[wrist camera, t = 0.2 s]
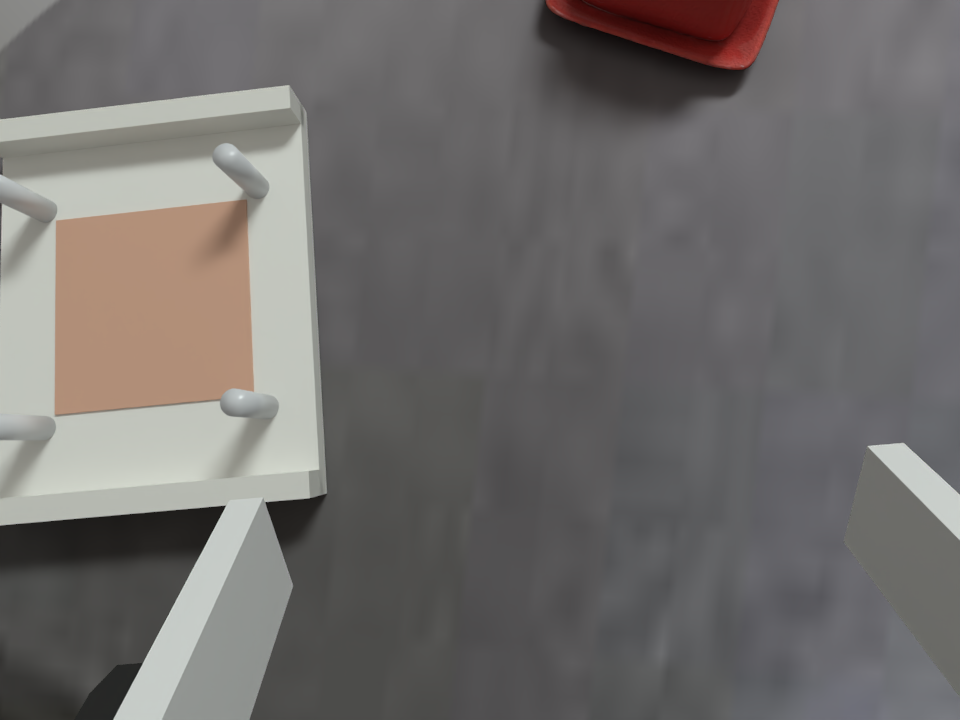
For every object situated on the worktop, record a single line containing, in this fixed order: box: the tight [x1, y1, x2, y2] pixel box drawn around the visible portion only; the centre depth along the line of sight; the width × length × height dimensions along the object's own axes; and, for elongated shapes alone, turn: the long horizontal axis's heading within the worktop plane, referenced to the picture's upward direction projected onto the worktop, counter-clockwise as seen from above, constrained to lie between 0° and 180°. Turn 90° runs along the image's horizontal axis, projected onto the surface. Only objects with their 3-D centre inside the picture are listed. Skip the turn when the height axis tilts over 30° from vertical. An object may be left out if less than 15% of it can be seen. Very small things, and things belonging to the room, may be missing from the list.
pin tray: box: [0, 85, 327, 525], centre depth 29 cm, size 20×16×4 cm
